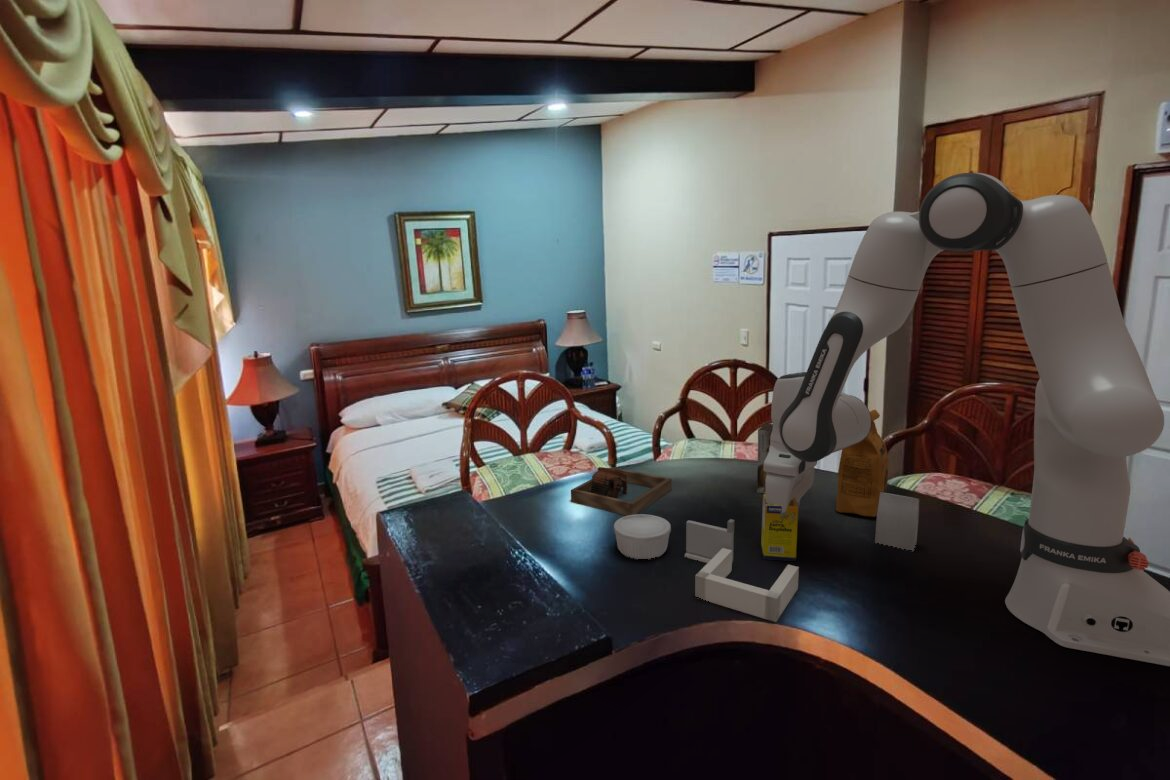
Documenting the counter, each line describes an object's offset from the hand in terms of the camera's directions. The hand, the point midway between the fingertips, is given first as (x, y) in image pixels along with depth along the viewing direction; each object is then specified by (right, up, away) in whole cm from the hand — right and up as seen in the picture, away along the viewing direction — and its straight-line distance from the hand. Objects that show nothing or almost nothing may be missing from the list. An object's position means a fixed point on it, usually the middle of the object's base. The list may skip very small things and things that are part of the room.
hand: (790, 519), depth 121 cm
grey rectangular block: (+20, -4, -2) cm, 20 cm away
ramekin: (-30, -6, -2) cm, 30 cm away
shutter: (-18, -5, -7) cm, 20 cm away
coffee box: (+6, +1, +26) cm, 27 cm away
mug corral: (-32, 0, +26) cm, 41 cm away
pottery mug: (-35, 0, +26) cm, 44 cm away
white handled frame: (-16, -8, -15) cm, 24 cm away
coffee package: (+21, -1, +15) cm, 26 cm away
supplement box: (-4, -6, -5) cm, 9 cm away
